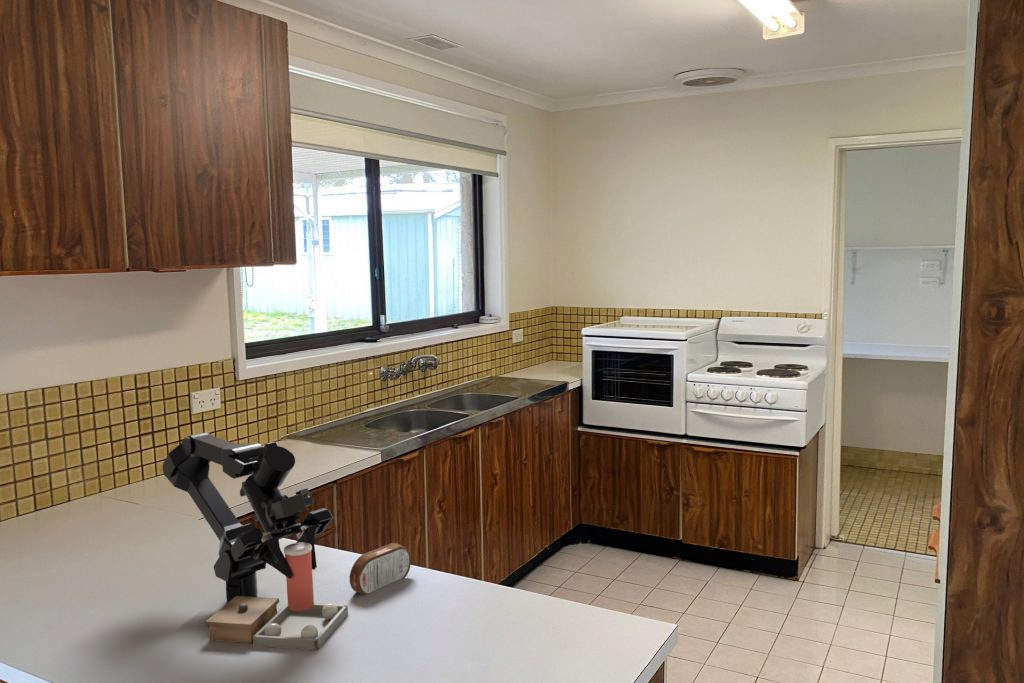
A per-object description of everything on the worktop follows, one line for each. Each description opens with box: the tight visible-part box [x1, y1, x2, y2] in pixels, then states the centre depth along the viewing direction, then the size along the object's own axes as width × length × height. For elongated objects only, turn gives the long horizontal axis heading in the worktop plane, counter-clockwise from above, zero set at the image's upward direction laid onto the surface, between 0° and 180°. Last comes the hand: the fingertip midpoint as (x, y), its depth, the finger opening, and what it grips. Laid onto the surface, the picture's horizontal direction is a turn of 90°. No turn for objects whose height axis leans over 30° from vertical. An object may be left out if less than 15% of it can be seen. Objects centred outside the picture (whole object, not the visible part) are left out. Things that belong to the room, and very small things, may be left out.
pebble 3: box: [322, 602, 338, 620], centre depth 149 cm, size 3×3×3 cm
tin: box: [349, 542, 412, 596], centre depth 165 cm, size 15×3×8 cm, turn 141°
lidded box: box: [204, 596, 280, 644], centre depth 147 cm, size 11×9×5 cm
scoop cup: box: [283, 542, 315, 611], centre depth 145 cm, size 5×5×11 cm
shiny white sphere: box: [264, 623, 282, 636], centre depth 142 cm, size 3×3×3 cm
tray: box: [252, 602, 349, 651], centre depth 146 cm, size 14×12×2 cm
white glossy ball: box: [301, 625, 318, 639], centre depth 141 cm, size 3×3×3 cm
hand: (303, 572), depth 144 cm, fingers closed on scoop cup, 5 cm apart
